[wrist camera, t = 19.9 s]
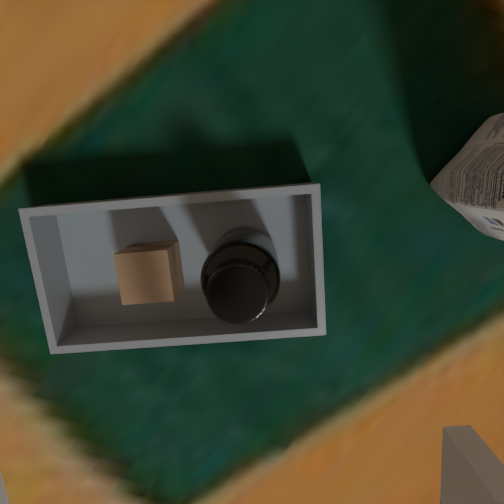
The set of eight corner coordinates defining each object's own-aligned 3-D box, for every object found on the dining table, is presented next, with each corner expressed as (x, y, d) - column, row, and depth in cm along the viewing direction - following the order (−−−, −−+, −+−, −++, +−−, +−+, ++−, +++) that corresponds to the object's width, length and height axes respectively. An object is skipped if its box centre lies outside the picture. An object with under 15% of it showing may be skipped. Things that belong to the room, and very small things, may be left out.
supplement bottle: (232, 213, 37) (221, 231, 25) (288, 246, 38) (302, 279, 26) (200, 268, 38) (176, 310, 27) (255, 299, 39) (254, 353, 27)
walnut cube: (139, 288, 39) (122, 305, 34) (132, 243, 38) (113, 254, 33) (184, 285, 39) (174, 301, 34) (178, 240, 38) (167, 250, 33)
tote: (75, 332, 41) (50, 354, 36) (49, 204, 38) (18, 208, 33) (317, 315, 40) (326, 334, 35) (311, 182, 37) (319, 183, 32)
